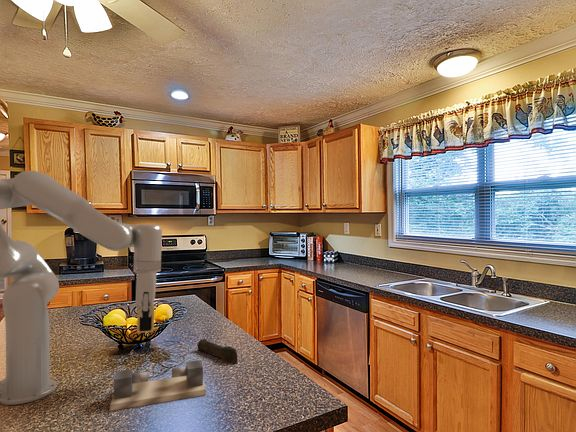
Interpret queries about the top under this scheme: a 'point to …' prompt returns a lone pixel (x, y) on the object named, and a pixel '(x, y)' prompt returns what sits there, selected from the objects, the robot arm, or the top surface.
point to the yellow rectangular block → (140, 316)
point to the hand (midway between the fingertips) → (145, 327)
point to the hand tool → (218, 350)
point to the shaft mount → (157, 386)
